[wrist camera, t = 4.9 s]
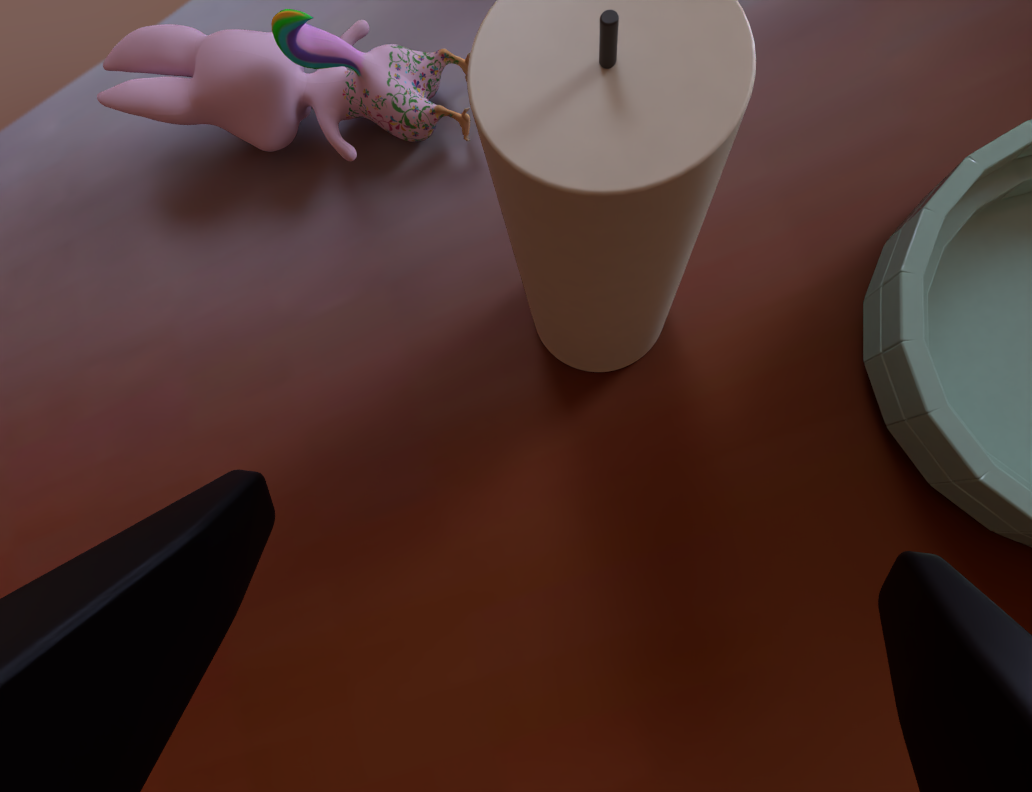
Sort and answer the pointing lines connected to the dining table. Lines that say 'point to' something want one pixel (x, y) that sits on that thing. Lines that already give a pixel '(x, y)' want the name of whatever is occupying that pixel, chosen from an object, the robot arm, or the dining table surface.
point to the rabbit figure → (279, 81)
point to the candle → (607, 154)
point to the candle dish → (962, 335)
